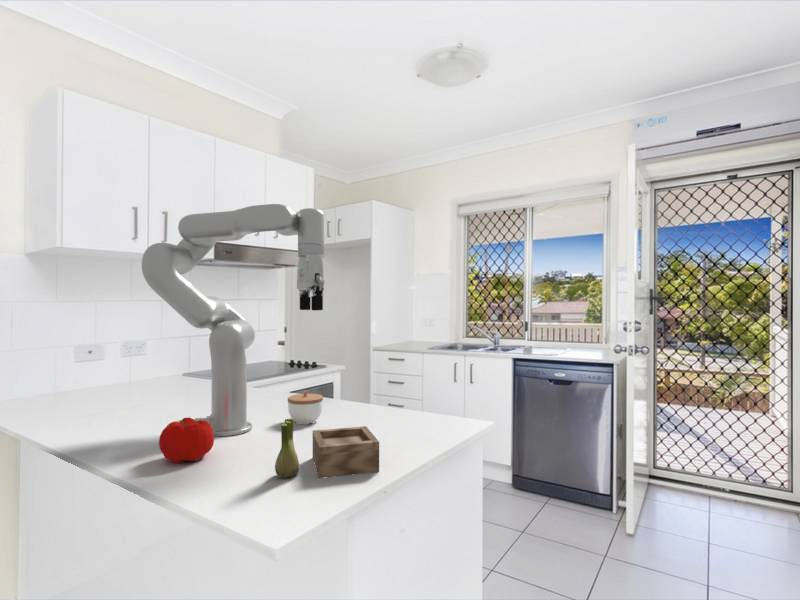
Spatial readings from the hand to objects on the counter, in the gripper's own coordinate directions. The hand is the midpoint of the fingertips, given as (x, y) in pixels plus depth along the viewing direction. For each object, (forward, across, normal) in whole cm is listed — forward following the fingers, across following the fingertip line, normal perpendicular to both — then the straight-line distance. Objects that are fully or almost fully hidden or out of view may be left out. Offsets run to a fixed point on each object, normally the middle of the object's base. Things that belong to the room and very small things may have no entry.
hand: (310, 310), depth 131 cm
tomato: (+35, +8, -34) cm, 49 cm away
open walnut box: (+35, +31, -4) cm, 47 cm away
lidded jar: (+35, -9, +2) cm, 36 cm away
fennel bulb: (+35, +31, -17) cm, 50 cm away
